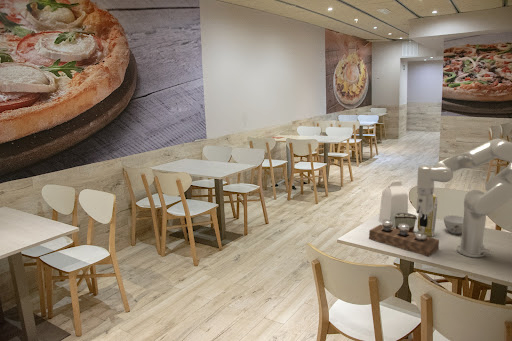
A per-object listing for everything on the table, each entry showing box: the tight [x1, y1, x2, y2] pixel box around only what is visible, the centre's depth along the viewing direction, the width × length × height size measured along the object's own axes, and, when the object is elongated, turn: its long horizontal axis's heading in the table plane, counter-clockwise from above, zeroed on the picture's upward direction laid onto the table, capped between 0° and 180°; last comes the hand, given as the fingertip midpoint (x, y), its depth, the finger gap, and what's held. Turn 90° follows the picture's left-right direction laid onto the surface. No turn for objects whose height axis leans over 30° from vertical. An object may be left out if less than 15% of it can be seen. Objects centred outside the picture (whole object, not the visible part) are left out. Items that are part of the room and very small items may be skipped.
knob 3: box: [414, 231, 427, 242], centre depth 204 cm, size 5×5×6 cm
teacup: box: [443, 214, 464, 235], centre depth 225 cm, size 15×12×8 cm
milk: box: [378, 180, 409, 228], centre depth 239 cm, size 12×12×26 cm
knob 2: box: [398, 224, 409, 237], centre depth 210 cm, size 5×5×6 cm
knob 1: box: [381, 220, 393, 233], centre depth 216 cm, size 5×5×6 cm
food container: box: [394, 212, 418, 233], centre depth 228 cm, size 12×6×10 cm, turn 84°
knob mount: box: [368, 224, 440, 257], centre depth 211 cm, size 32×12×5 cm, turn 46°
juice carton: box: [417, 192, 438, 238], centre depth 222 cm, size 9×8×24 cm
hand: (423, 225), depth 202 cm, fingers closed
